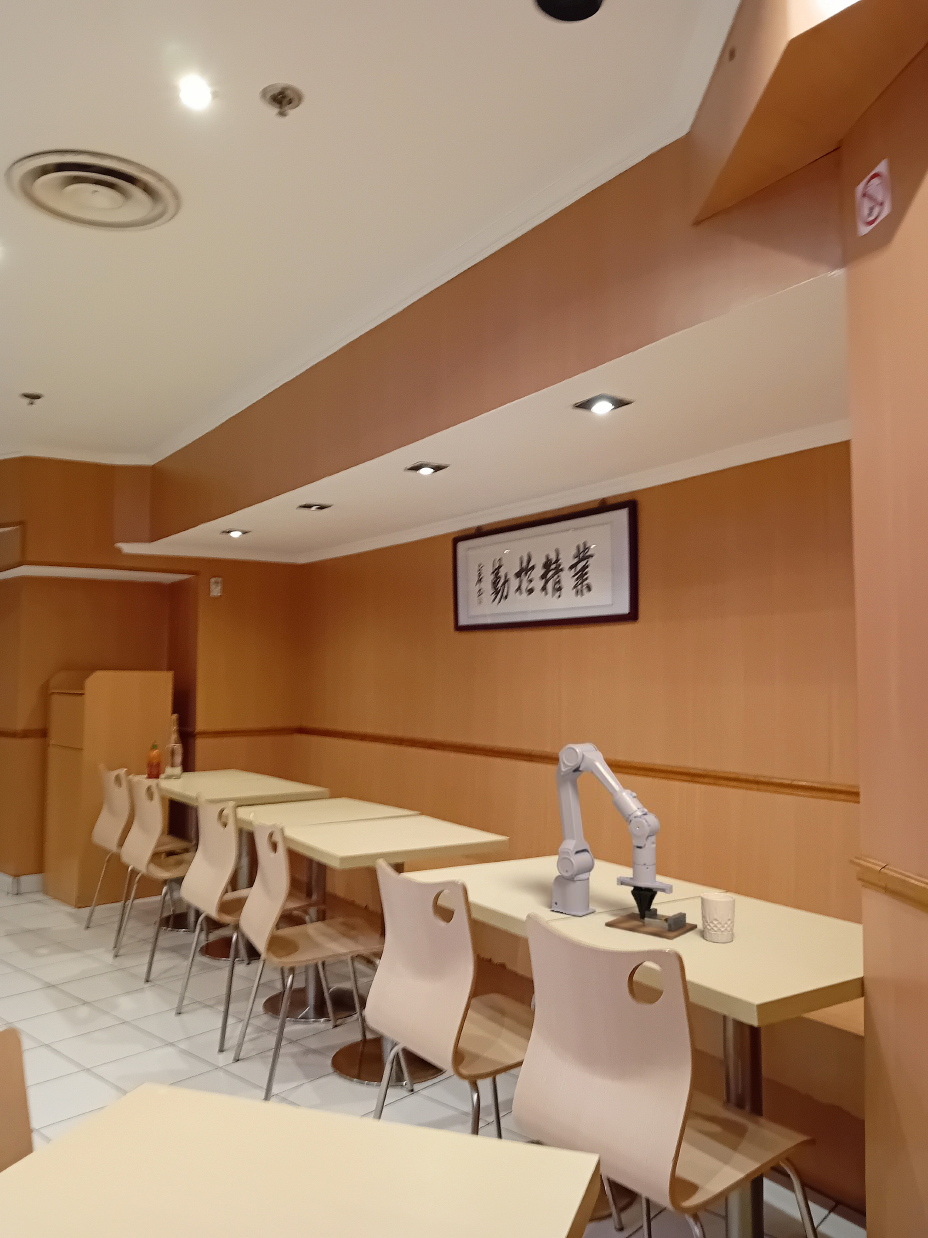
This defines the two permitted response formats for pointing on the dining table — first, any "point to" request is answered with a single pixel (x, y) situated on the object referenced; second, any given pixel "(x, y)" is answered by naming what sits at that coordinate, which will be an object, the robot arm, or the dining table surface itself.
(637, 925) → the walnut board
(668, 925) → the gauge body
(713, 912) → the white cup
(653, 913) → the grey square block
